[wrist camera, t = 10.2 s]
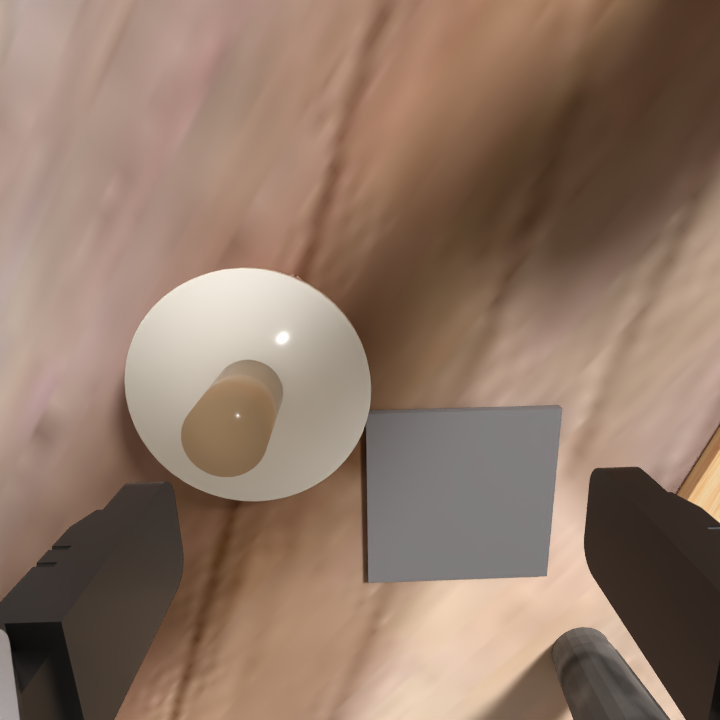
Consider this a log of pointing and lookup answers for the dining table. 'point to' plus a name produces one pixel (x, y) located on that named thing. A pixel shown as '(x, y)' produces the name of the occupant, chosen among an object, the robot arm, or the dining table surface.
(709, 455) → the cutting board
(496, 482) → the mat
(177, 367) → the lid
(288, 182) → the dining table surface
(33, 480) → the dining table surface
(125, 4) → the dining table surface
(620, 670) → the beverage cup
